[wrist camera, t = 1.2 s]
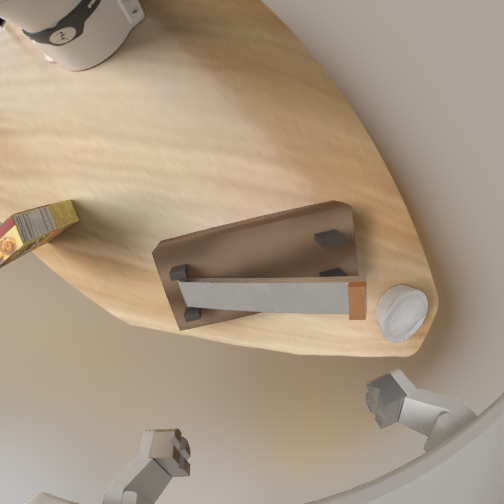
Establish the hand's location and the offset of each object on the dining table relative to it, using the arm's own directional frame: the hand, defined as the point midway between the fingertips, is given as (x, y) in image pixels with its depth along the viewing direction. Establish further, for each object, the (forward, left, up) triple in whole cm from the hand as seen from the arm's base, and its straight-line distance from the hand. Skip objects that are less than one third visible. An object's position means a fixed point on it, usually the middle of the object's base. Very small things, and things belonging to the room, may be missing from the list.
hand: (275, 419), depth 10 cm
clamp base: (+4, +3, -32) cm, 33 cm away
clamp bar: (+4, +2, -20) cm, 21 cm away
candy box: (-10, -27, -33) cm, 44 cm away
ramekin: (+21, +28, -33) cm, 48 cm away
